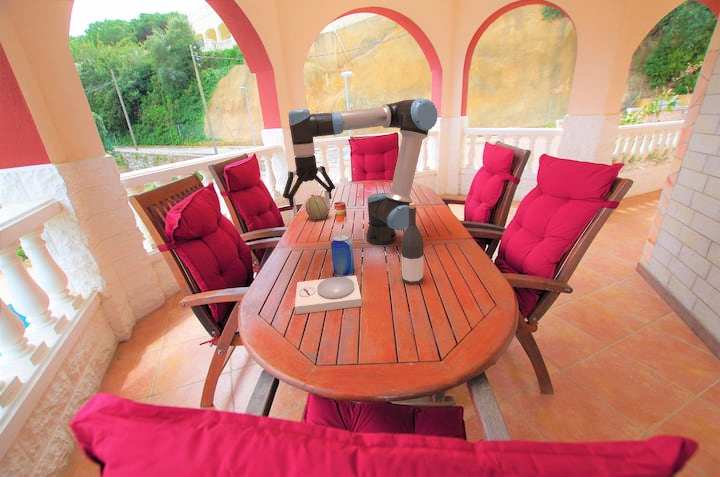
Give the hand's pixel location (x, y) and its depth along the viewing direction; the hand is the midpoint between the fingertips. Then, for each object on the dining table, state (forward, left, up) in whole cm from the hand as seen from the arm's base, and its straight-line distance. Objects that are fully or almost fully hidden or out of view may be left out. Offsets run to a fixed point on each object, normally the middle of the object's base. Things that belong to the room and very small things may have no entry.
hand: (312, 211), depth 123 cm
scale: (-3, +22, -25) cm, 34 cm away
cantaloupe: (0, -67, -26) cm, 71 cm away
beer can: (-10, +6, -26) cm, 28 cm away
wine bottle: (-35, +17, -26) cm, 47 cm away
